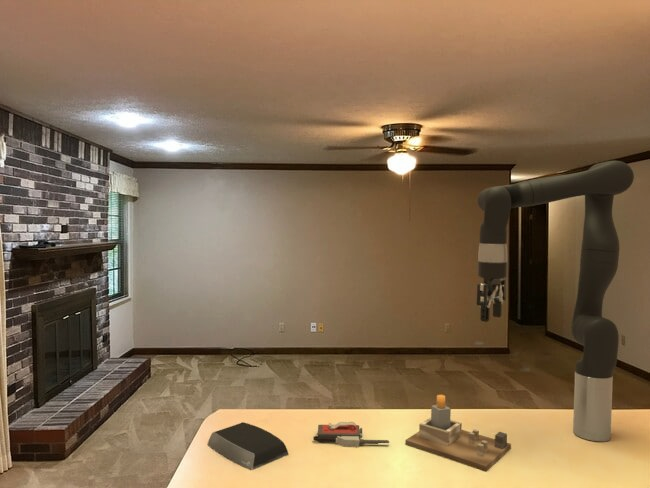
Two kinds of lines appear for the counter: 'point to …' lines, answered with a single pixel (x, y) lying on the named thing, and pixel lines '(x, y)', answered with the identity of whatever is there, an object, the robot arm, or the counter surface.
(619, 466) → the counter surface
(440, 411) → the connector plug
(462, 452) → the board
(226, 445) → the external hard drive
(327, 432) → the walkie-talkie
